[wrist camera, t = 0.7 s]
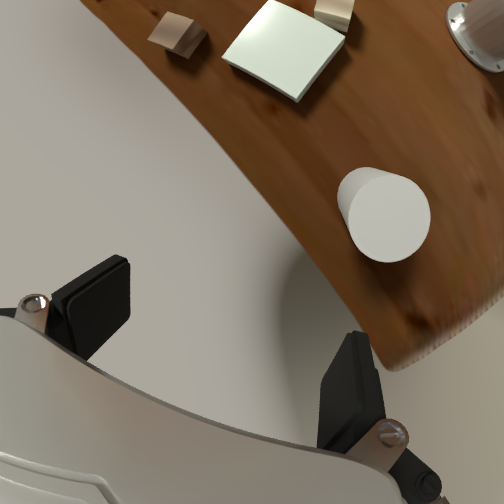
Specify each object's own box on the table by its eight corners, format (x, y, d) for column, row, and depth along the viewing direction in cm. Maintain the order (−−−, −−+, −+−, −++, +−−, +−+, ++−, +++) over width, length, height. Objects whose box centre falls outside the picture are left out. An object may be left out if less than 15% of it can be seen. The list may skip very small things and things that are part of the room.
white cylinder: (331, 220, 36) (338, 251, 25) (344, 160, 33) (359, 164, 22) (387, 234, 34) (415, 270, 23) (402, 176, 31) (439, 189, 20)
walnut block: (182, 23, 29) (167, 11, 25) (207, 32, 30) (194, 20, 25) (164, 48, 31) (147, 39, 27) (188, 59, 32) (172, 49, 27)
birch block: (320, 2, 25) (320, -13, 21) (352, 10, 24) (355, -5, 20) (314, 24, 26) (314, 10, 22) (346, 32, 26) (350, 19, 22)
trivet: (273, 8, 26) (270, -2, 24) (343, 44, 27) (345, 36, 24) (228, 63, 31) (221, 57, 28) (297, 103, 31) (296, 98, 28)
